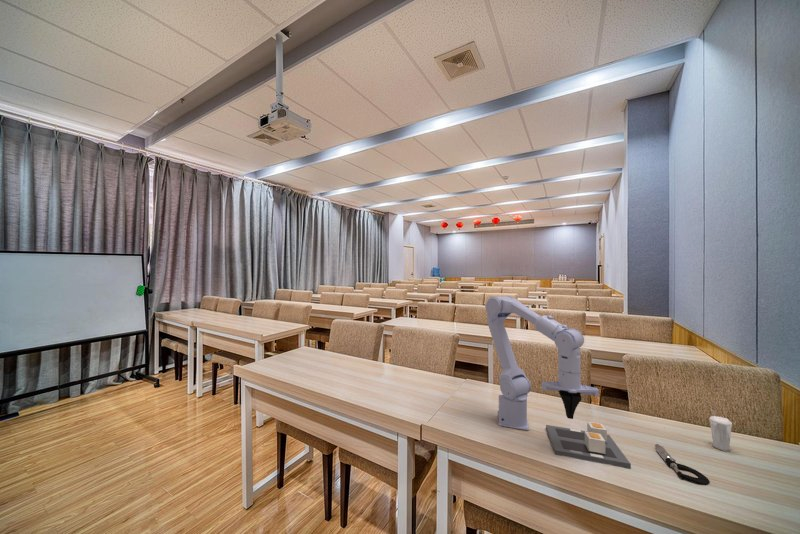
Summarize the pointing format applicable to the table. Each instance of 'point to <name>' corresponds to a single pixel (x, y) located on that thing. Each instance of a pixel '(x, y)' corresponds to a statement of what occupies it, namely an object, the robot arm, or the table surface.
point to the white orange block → (597, 429)
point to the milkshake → (720, 432)
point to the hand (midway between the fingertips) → (569, 417)
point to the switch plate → (584, 447)
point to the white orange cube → (595, 442)
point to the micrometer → (672, 464)
